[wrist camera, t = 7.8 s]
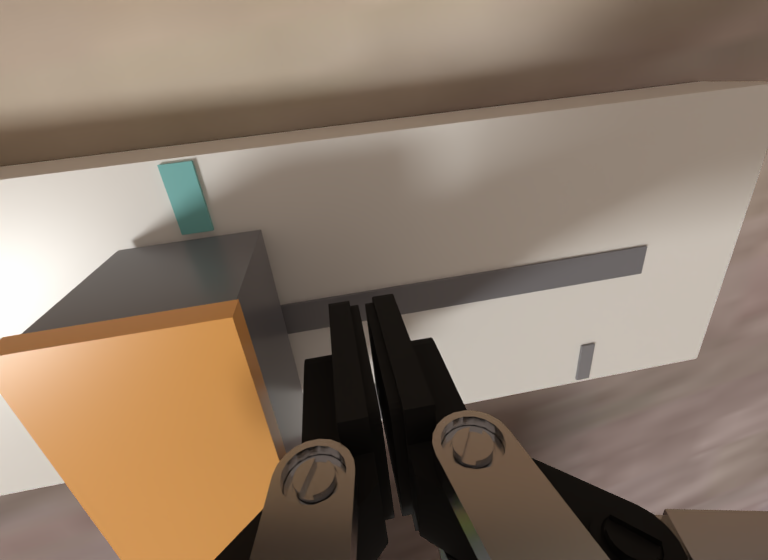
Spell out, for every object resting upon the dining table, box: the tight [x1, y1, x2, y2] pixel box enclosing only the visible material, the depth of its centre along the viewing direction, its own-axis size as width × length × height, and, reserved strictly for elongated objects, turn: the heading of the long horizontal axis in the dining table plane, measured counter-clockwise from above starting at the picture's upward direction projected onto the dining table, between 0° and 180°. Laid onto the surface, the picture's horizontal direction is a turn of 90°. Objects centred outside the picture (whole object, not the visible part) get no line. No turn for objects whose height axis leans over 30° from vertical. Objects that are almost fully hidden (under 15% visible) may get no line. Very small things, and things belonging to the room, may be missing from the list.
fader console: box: [0, 81, 768, 496], centre depth 14 cm, size 26×10×3 cm, turn 96°
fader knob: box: [0, 230, 303, 560], centre depth 10 cm, size 4×6×5 cm, turn 6°
